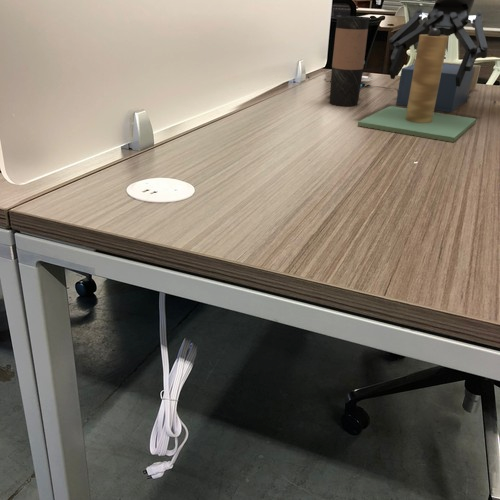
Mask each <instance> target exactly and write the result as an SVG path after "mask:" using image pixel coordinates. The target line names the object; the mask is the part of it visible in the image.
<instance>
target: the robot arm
mask: <svg viewBox="0 0 500 500" xmlns="http://www.w3.org/2000/svg"><path fill="white" fill-rule="evenodd" d="M474 3H475V0H435V2H434V4H433V7H432V9H431V10H430V12H423V10H422V9H420V8H418V9H416V11H415V12H414V13H413V16H412V17H411V18H410V19H409V20H408V21H407V22H406V23H405V24H403V25H402V26H401V27H400V28H399V29H398V30H397V31H396V32H395V33H394V34H393V35H392V36H390V38H388V45H389V50H391V51H392V52H391V55H390V63H391V64H390V68H389V70H388V73H389V77H390V80H395V78H396V77H397V74H398V71H399V69H400V67H401V65H402V62H403V59H404V57H405V51H407V50H408V49H410V48H411V47H413V46H414V45H416V44H418V41H419V36H420V35H422V34H428V32H429V31H430V29H432V28H438V29H439V30H440V32H441V34H440V35H444V36H448V37H450V36H451V35H454V37H455V38H456V39H457V40H458V41H459V43H460V44H461V46H462V47H463V49H464V51H465V52H464V55H463V58H462V61H461V62H460V64H461V65H460V68H459V70H458V73H457V75H456V86H458V87H460V85H461V82H462V80H463V77H464V74H465V72H466V71H471V70H472V68H473V65H475V62H476V60H477V59H479V58H481V59H486V58H487V57H488V53H489V52H488V51H489V49H488V47H489V45H488V43H487V39H486V35H485V31H484V28H483V17H484V15H483V12H482V11H479V12H477V13H476V14H475V15H470V14H471V11H472V8H473V5H474ZM469 24H470V27H472V28H473V29H474V35H475V38H476V43H477V45H476V44H475V43H474V41H473V39H472V38H471V37H470V35H469V33H468V32H467V30H466V29H465V26H467V25H469ZM420 25H421V26H420Z"/></svg>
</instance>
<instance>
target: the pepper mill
mask: <svg viewBox="0 0 500 500" xmlns="http://www.w3.org/2000/svg"><path fill="white" fill-rule="evenodd" d="M440 34H441V32H440V30H439V29H438V28H432V29H431V28H430V31H429V32H428V34H422V35H420V36H419V41H418V42H417V48H416V53H415V60H414V64H415V65H414V64H413V65H414V71H413V77H412V83H411V88H410V94H409V100H408V106H406V109H407V112H406V118H405V119H406V120H408V121H411V122H416V123H430V122H432V119H433V114H434V113H435V110H434V108H435V103H436V98H437V93H438V88H439V83H440V78H441V73H442V67H443V62H445V56H446V51H447V47H448V42H449V36H447V35H443V34H442V35H440Z"/></svg>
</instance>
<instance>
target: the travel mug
mask: <svg viewBox="0 0 500 500" xmlns="http://www.w3.org/2000/svg"><path fill="white" fill-rule="evenodd" d="M369 23H370V17H368V16H359V15H358V16H357V15H356V16H355V15H340V16H337V17H336V24H335V25H336V26H335V34H334V44H333V54H332V62H331V74H330V75H331V76H330V90H329V103H330V104H331V105H334V106H338V105H340V106H339V107H355V105H356V106H357V105H358V104H359V100H360V99H359V98H360V92H361V89H360V87H361V83H362V79H363V73H364V67H365V64H364V61H365V58H366V57H365V56H366V50H367V42H368V41H367V40H368V32H369Z"/></svg>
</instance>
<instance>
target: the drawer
mask: <svg viewBox="0 0 500 500" xmlns="http://www.w3.org/2000/svg"><path fill="white" fill-rule="evenodd" d="M443 64H449V65H461V63H456V62H447V61H444V62H443ZM473 67H474V72H473V76H472V81H471V85H470V89H469V92H471V91H473V92H475V91H476V90H477V89H476V88H477V84H478V80H479V75H480V72H481V71H480V70H481V65H476V64H474V65H473Z"/></svg>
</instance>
